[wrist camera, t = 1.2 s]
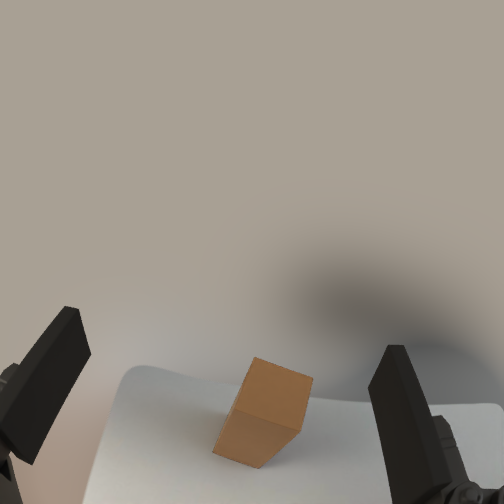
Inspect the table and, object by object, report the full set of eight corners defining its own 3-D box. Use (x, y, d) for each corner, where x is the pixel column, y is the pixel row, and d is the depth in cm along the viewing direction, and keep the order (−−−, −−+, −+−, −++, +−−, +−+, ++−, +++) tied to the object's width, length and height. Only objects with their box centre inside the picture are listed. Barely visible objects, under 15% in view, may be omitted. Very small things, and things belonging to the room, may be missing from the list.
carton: (212, 452, 28) (233, 408, 21) (228, 413, 32) (254, 356, 24) (258, 468, 27) (300, 431, 20) (271, 429, 31) (313, 377, 24)
